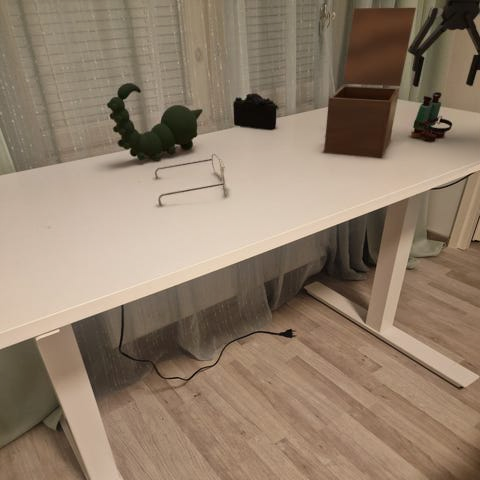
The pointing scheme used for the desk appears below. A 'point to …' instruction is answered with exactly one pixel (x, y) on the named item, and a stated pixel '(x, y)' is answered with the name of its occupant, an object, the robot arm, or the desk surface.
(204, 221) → the desk surface
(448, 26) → the robot arm
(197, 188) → the eyeglasses
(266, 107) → the film camera
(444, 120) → the binoculars
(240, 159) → the desk surface
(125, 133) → the toy figurine
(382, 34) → the lid
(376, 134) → the chest
